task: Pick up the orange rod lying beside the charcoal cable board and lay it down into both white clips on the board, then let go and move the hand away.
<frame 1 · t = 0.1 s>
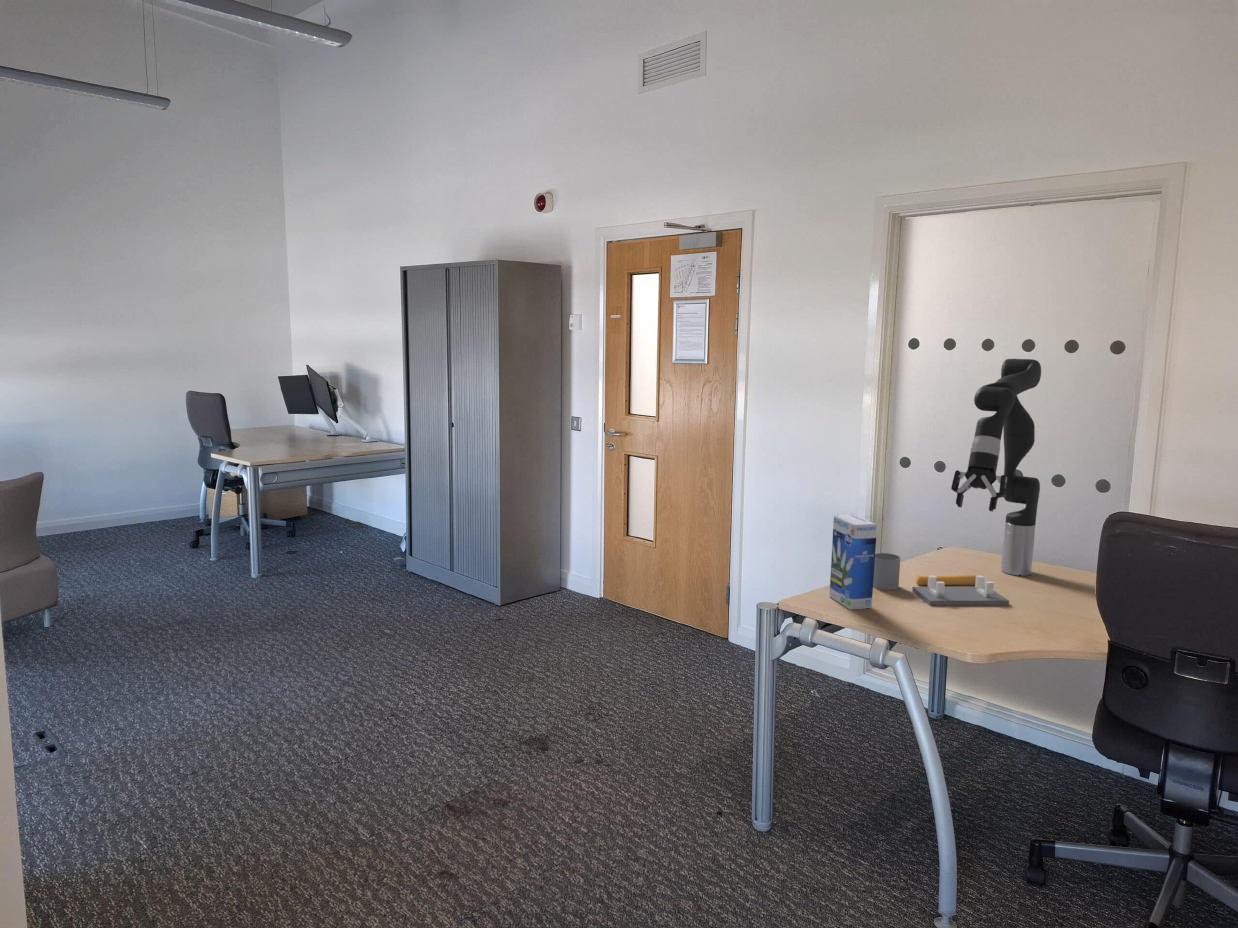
hand: (974, 508, 236), 31 cm above the table, tool tilted 20°, fingers open, 8 cm apart
orange rod: (946, 585, 270), on the table
string lights box: (850, 603, 251), on the table
cable board: (959, 598, 256), on the table
cup: (884, 587, 268), on the table
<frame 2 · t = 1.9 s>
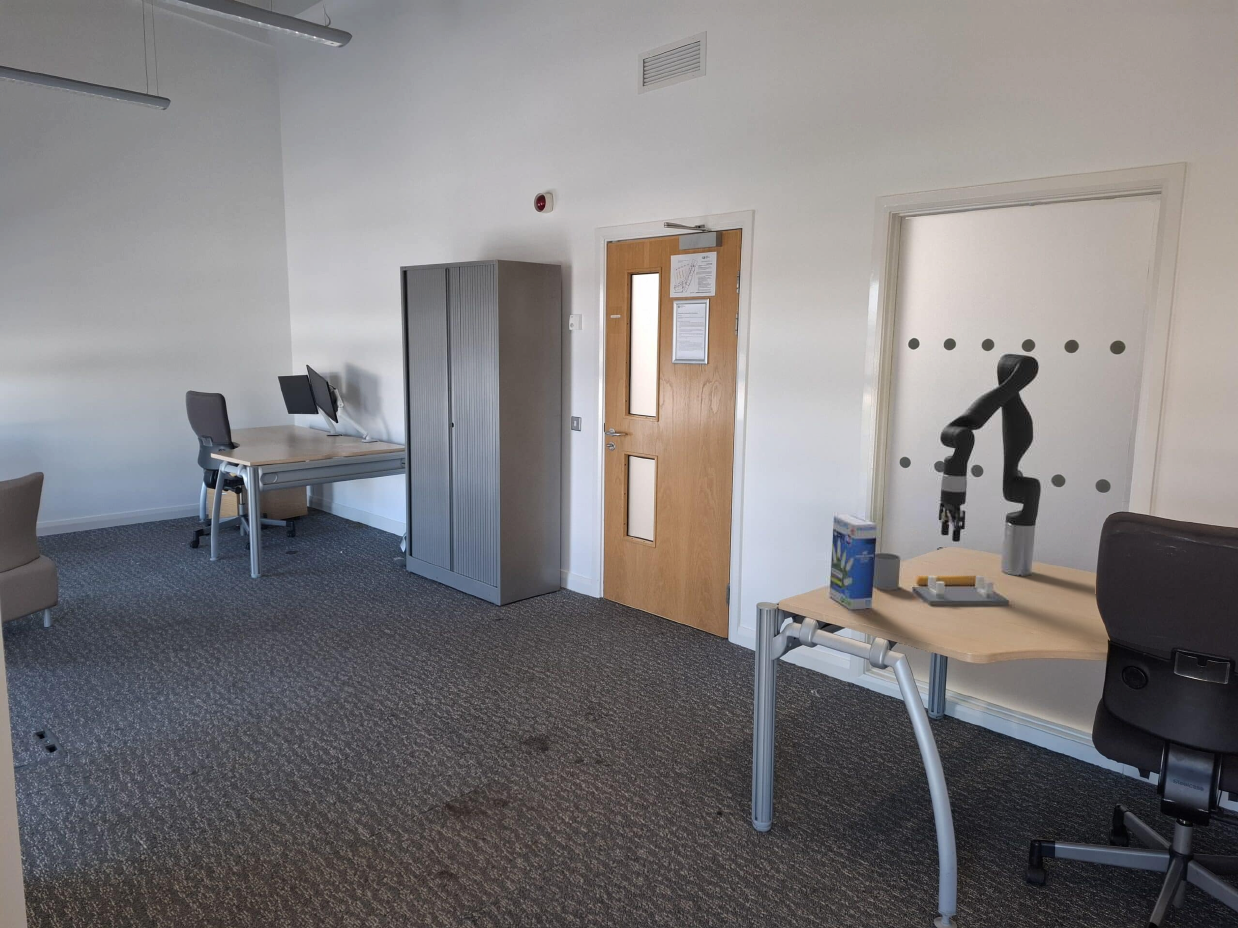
hand: (950, 538, 268), 16 cm above the table, tool pointing down, fingers open, 8 cm apart
nothing on the table moved.
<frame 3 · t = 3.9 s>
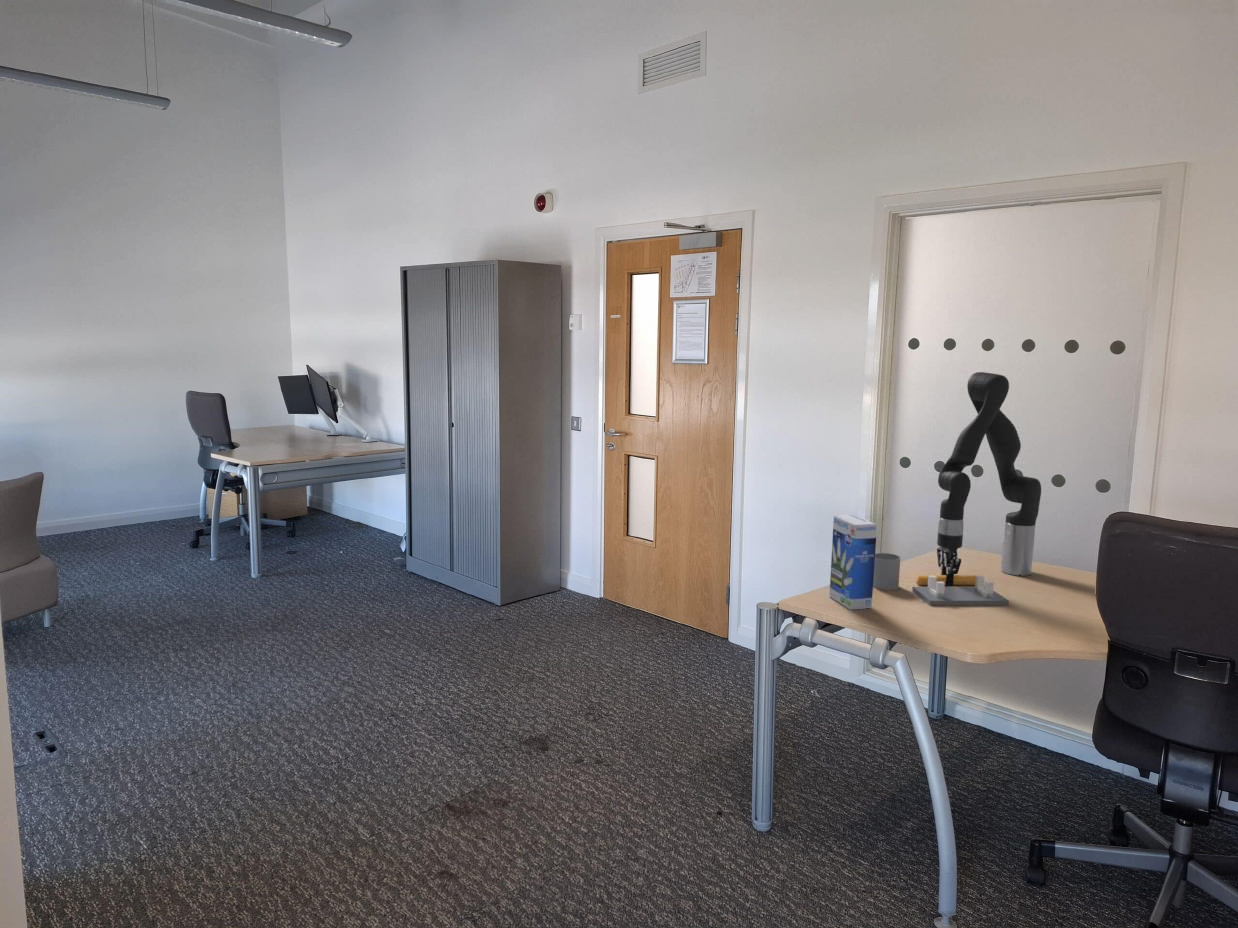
hand: (946, 583, 270), 0 cm above the table, tool pointing down, fingers closed on orange rod, 3 cm apart
orange rod: (946, 584, 270), on the table, touching gripper
everything else where it was.
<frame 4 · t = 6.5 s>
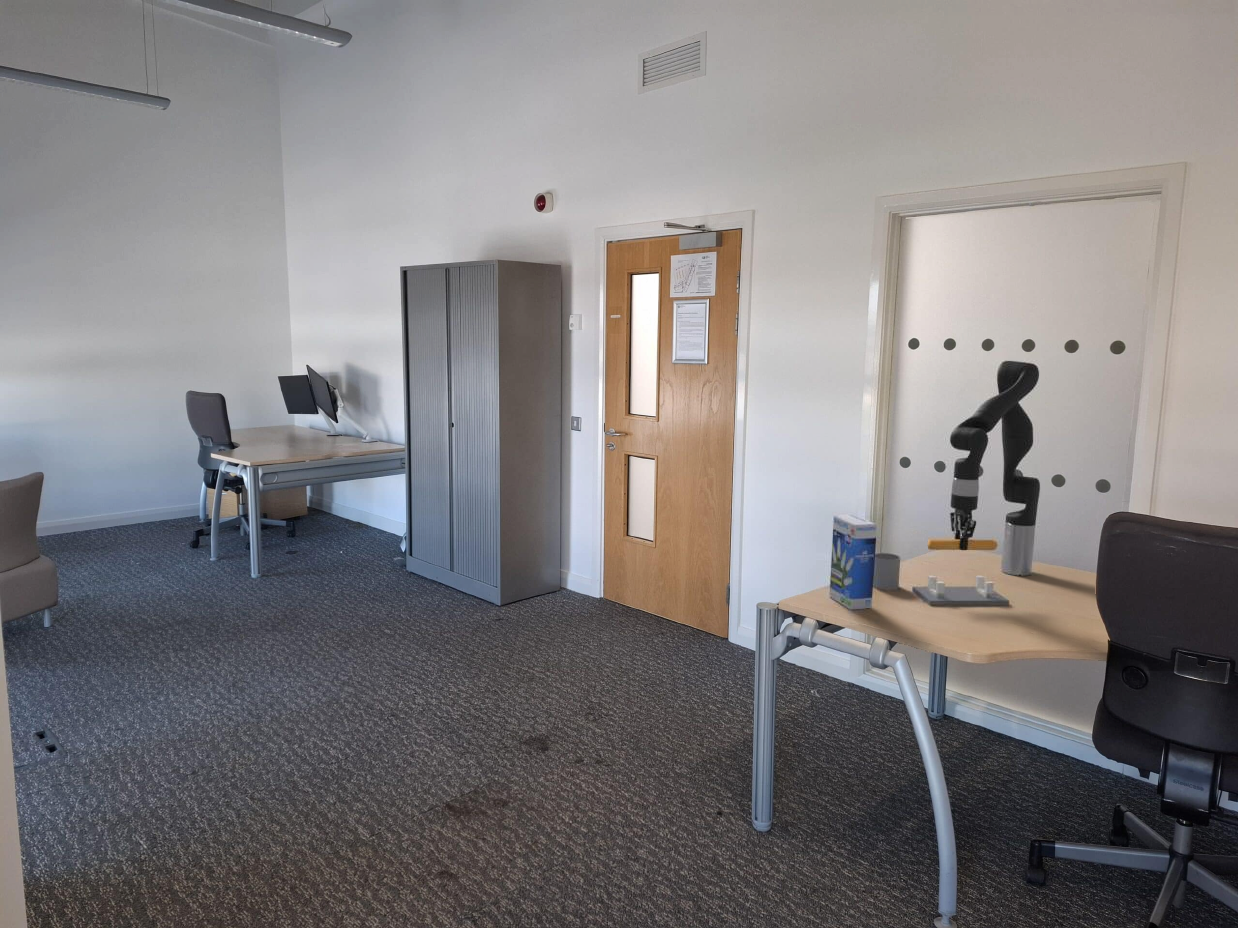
hand: (960, 548, 255), 16 cm above the table, tool pointing down, fingers closed on orange rod, 3 cm apart
orange rod: (960, 549, 255), point 15 cm above the table, touching gripper
everything else where it was.
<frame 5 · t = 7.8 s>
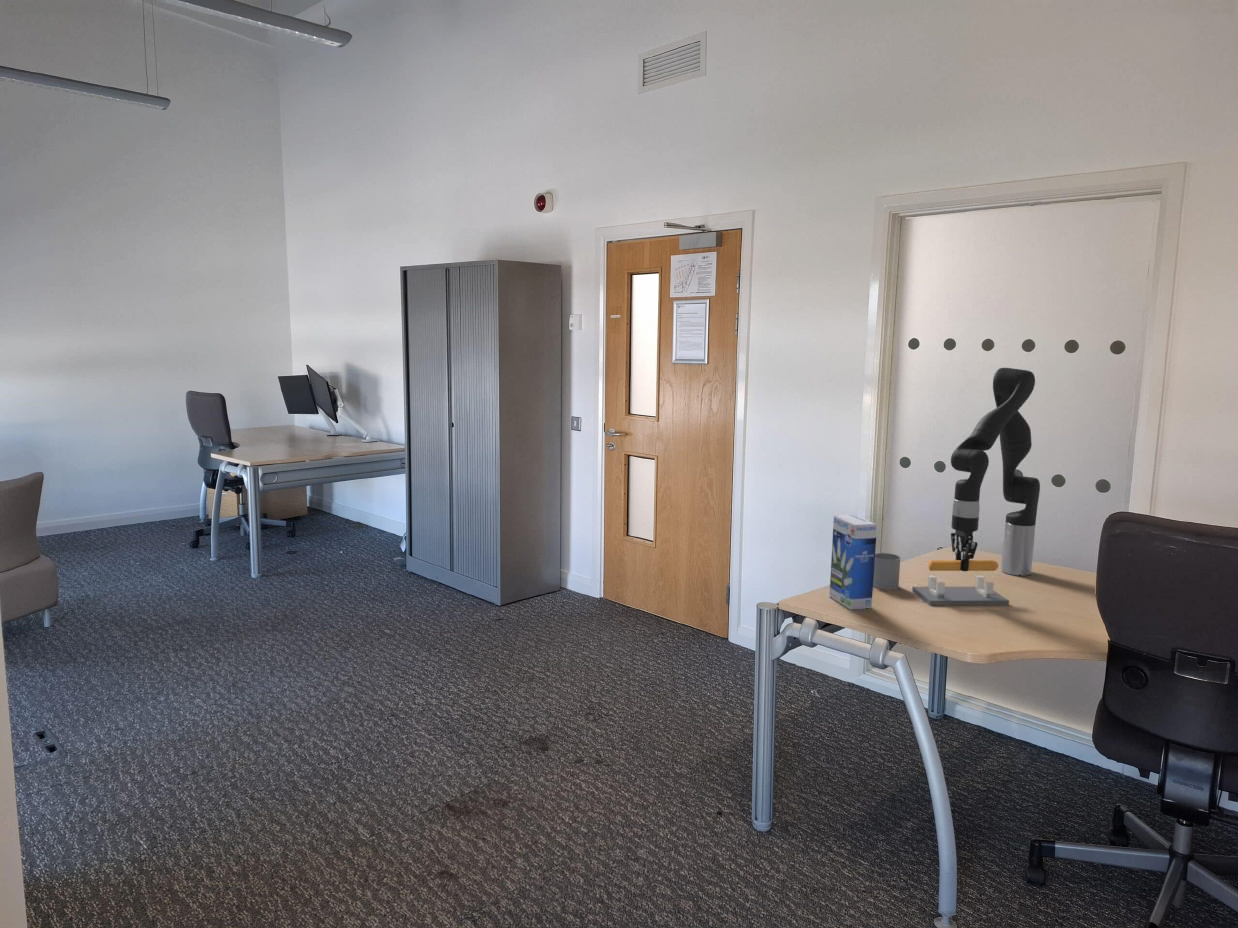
hand: (961, 568, 255), 9 cm above the table, tool pointing down, fingers closed on orange rod, 3 cm apart
orange rod: (961, 570, 255), point 9 cm above the table, touching gripper
everything else where it was.
when the fingers open (4 cm above the table, at t = 9.1 s): orange rod stays where it is, resting on cable board.
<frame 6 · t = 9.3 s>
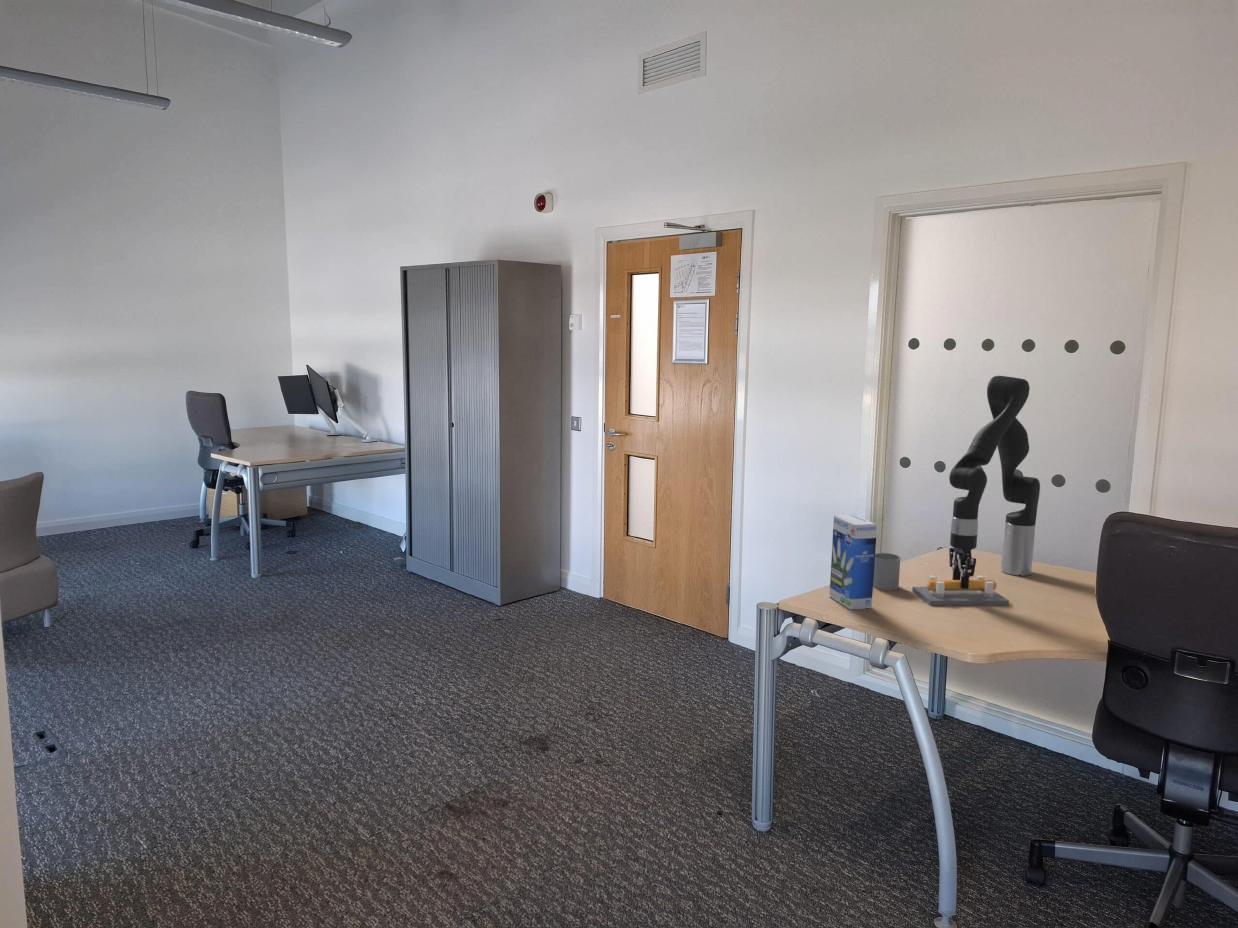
hand: (960, 585, 256), 4 cm above the table, tool pointing down, fingers open, 5 cm apart
orange rod: (959, 590, 256), point 2 cm above the table, touching cable board
everything else where it was.
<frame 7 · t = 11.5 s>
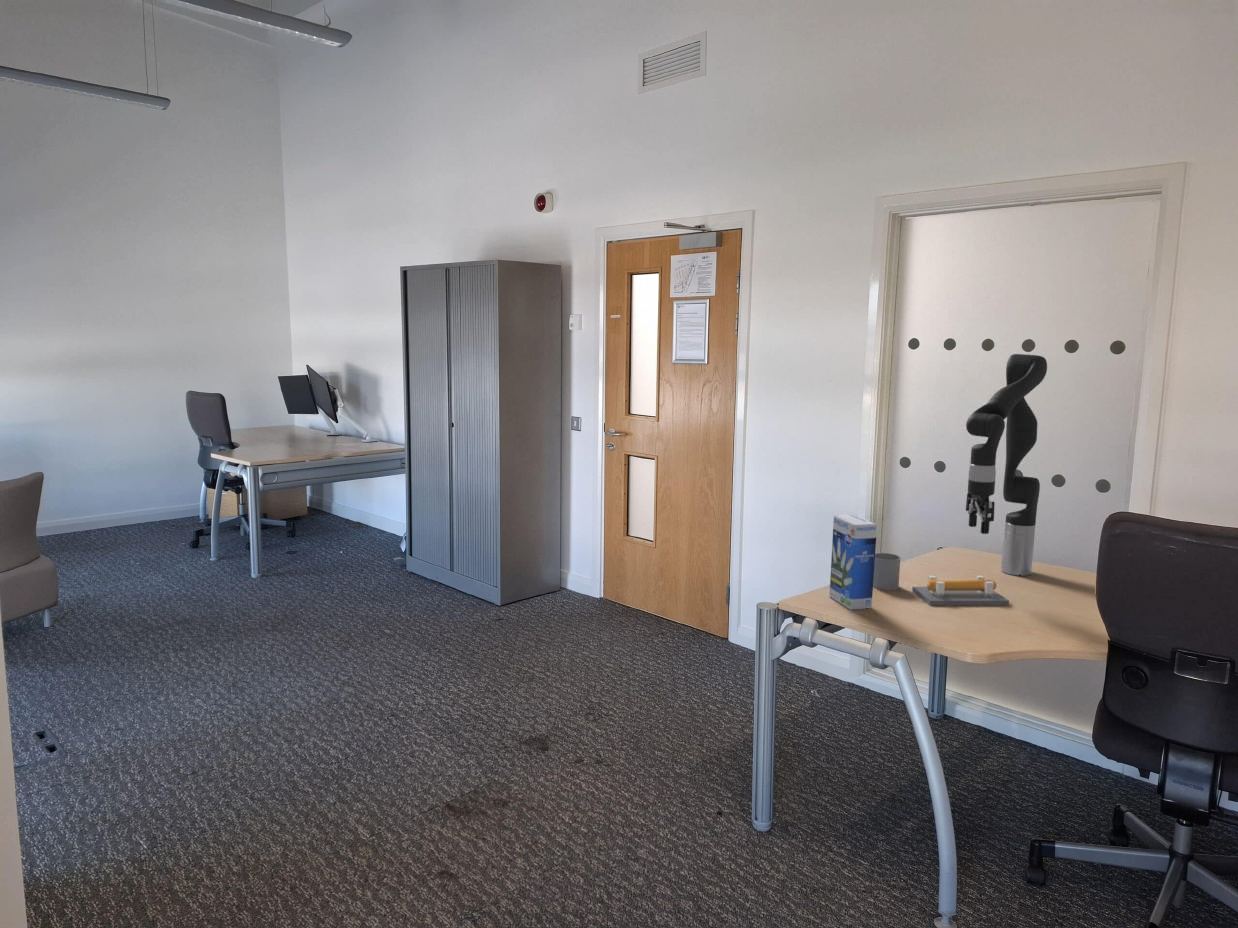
hand: (978, 529, 257), 21 cm above the table, tool pointing down, fingers open, 8 cm apart
nothing on the table moved.
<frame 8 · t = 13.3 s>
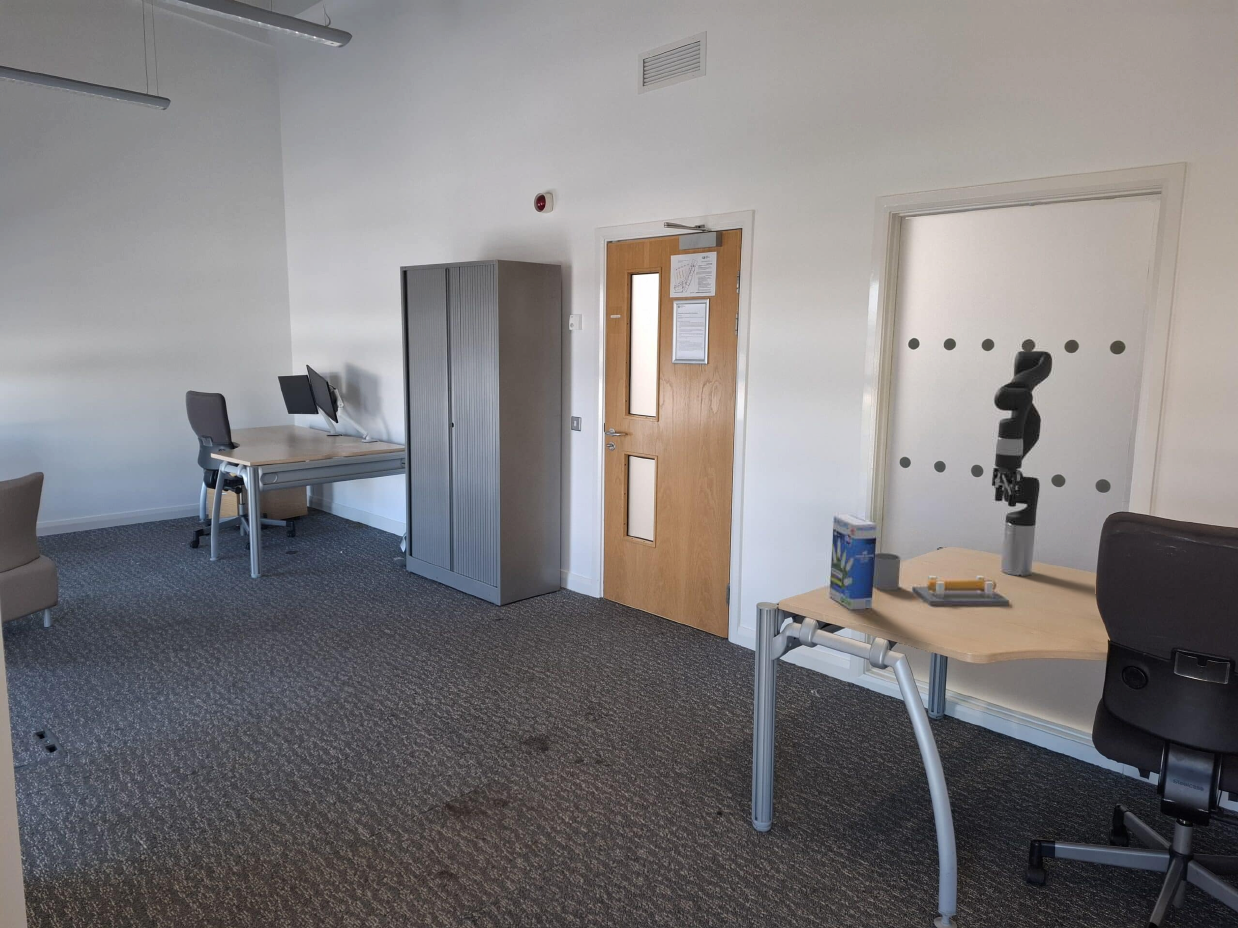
hand: (1005, 503, 260), 28 cm above the table, tool pointing down, fingers open, 8 cm apart
nothing on the table moved.
at the end: orange rod 0.0 cm off-centre on the cable board, point 2.5 cm above the cable board's base; the gripper is holding nothing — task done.
